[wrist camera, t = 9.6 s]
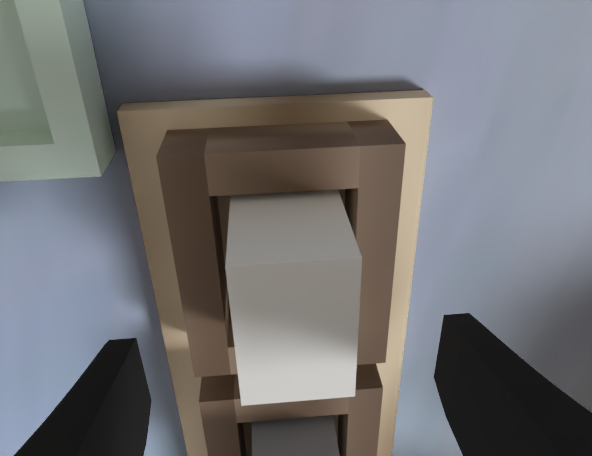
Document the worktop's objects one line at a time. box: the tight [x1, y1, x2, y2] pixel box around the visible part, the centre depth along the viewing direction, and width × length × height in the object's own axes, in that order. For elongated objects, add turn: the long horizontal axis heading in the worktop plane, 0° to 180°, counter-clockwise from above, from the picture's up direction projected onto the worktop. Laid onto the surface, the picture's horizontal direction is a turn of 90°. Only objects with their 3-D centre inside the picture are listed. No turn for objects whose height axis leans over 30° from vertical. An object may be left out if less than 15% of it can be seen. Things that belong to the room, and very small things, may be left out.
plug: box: [225, 189, 362, 406], centre depth 14 cm, size 3×4×5 cm
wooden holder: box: [117, 90, 433, 456], centre depth 18 cm, size 9×18×3 cm, turn 1°
